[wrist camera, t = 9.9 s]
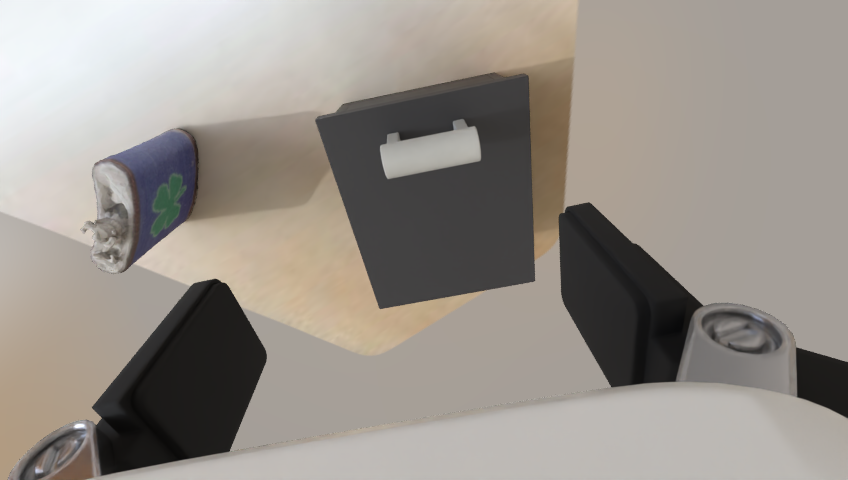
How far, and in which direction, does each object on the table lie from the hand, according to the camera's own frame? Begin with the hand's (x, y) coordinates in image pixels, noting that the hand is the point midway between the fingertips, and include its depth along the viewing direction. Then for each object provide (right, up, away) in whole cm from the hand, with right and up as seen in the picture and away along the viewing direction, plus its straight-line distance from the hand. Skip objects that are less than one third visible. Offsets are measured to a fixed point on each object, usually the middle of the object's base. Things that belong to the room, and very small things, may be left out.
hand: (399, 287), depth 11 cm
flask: (-21, +7, +23) cm, 32 cm away
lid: (+2, +4, +16) cm, 17 cm away
